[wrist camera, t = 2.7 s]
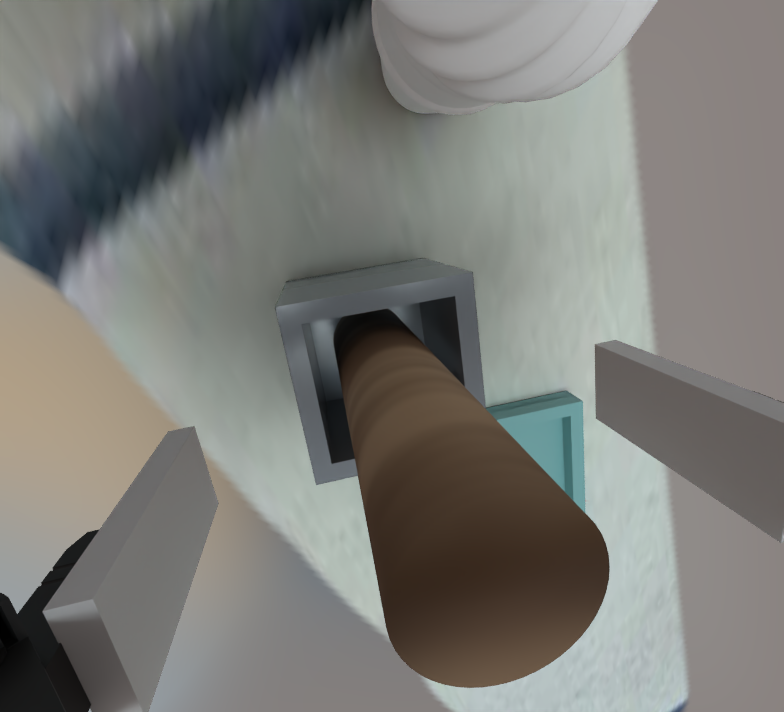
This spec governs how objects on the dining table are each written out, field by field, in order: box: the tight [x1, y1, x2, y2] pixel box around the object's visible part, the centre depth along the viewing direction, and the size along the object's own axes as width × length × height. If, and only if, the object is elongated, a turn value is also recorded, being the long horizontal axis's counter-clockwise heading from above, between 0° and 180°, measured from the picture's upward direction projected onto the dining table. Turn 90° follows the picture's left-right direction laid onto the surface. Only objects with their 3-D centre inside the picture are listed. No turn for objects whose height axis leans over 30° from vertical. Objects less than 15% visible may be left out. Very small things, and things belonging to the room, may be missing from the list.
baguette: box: [333, 308, 609, 688], centre depth 16 cm, size 4×4×18 cm
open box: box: [275, 258, 486, 485], centre depth 22 cm, size 8×8×8 cm
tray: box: [486, 391, 585, 512], centre depth 29 cm, size 12×12×2 cm
